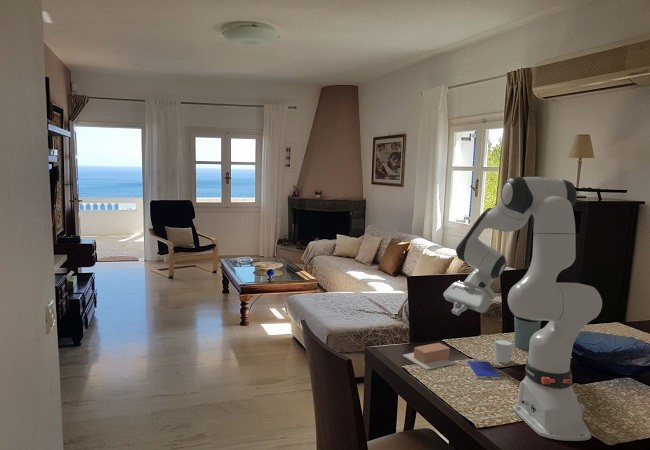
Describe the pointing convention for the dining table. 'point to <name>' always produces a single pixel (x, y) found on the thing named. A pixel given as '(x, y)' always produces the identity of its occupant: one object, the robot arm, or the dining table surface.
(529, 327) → the teal bucket
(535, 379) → the robot arm
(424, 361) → the block
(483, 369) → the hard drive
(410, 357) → the mat
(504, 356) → the shot glass
